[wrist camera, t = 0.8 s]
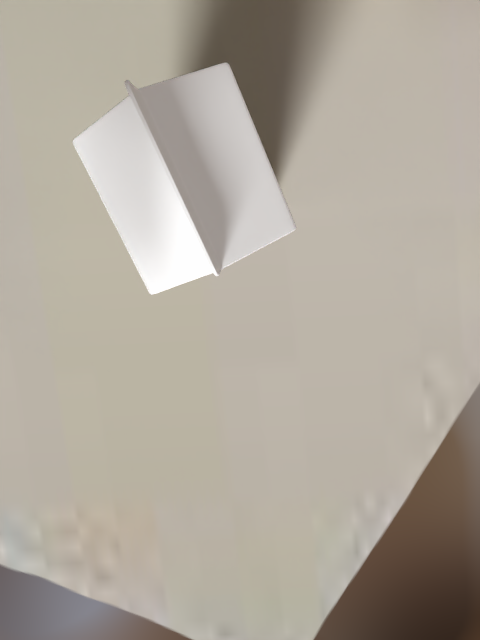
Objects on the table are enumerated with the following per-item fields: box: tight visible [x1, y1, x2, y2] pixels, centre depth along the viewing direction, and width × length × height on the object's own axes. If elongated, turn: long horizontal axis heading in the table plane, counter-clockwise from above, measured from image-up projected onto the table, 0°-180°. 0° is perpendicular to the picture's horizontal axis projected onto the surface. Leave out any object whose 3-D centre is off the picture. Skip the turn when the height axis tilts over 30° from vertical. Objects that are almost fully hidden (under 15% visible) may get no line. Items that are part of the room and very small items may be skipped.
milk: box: [73, 62, 296, 294], centre depth 23 cm, size 6×6×22 cm
